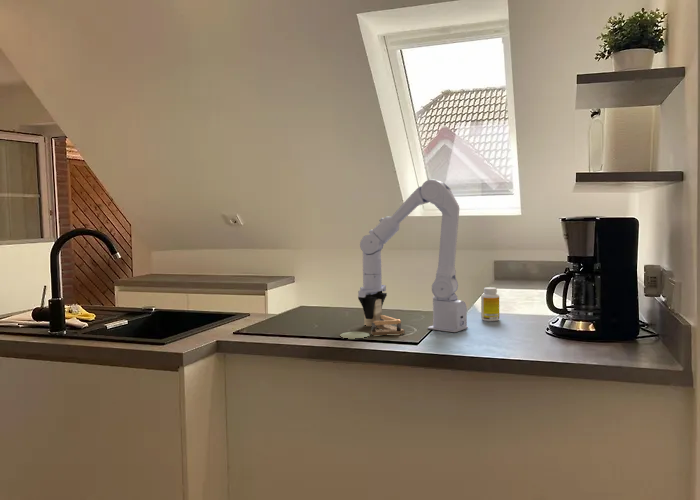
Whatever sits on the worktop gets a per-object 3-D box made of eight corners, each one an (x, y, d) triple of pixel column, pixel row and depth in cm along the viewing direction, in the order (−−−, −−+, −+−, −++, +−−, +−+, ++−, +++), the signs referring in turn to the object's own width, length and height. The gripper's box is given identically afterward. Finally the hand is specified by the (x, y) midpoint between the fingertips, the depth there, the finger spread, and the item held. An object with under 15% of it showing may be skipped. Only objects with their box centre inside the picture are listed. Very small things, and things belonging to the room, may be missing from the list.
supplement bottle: (502, 321, 183) (502, 288, 182) (486, 322, 182) (486, 289, 181) (494, 317, 188) (494, 286, 187) (478, 319, 187) (478, 287, 186)
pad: (375, 335, 167) (375, 334, 167) (356, 340, 161) (356, 339, 160) (352, 331, 172) (352, 330, 172) (333, 336, 166) (333, 335, 166)
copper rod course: (413, 331, 171) (413, 317, 170) (389, 339, 162) (389, 324, 161) (382, 326, 178) (381, 313, 178) (357, 333, 169) (356, 319, 169)
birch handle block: (381, 324, 182) (381, 299, 181) (375, 326, 178) (375, 301, 178) (370, 323, 184) (370, 298, 183) (364, 325, 180) (363, 300, 180)
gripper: (371, 270, 188) (372, 312, 189) (349, 275, 176) (350, 320, 177) (391, 271, 185) (392, 314, 186) (369, 276, 172) (370, 322, 173)
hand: (373, 317), depth 181 cm, fingers open, 4 cm apart
